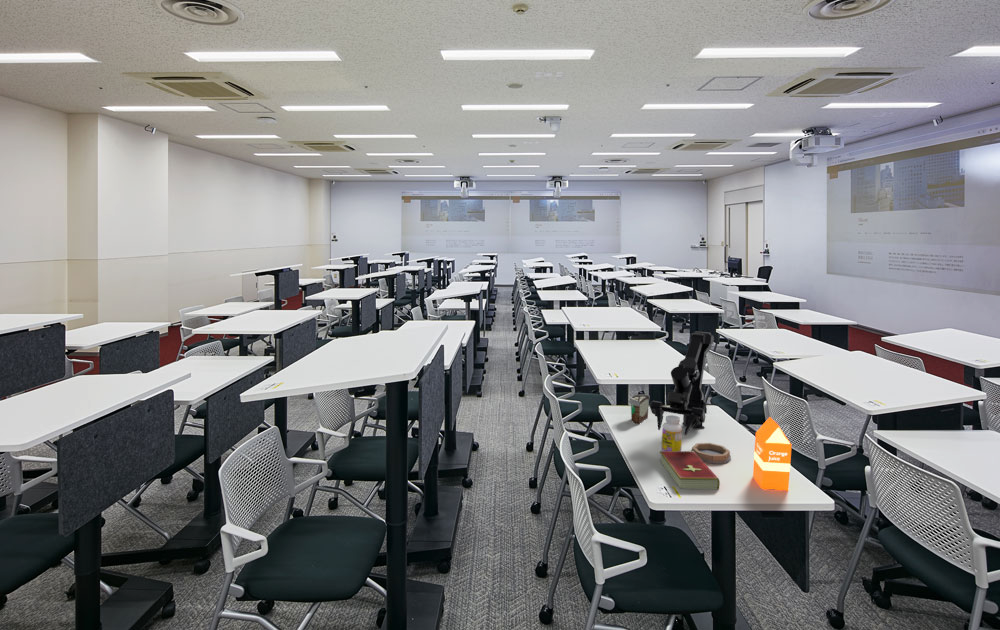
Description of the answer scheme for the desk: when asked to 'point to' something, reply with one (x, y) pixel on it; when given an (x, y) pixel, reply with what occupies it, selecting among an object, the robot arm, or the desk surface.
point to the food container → (639, 407)
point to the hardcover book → (689, 470)
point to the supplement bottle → (672, 434)
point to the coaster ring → (712, 453)
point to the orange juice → (772, 457)
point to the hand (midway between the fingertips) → (671, 432)
